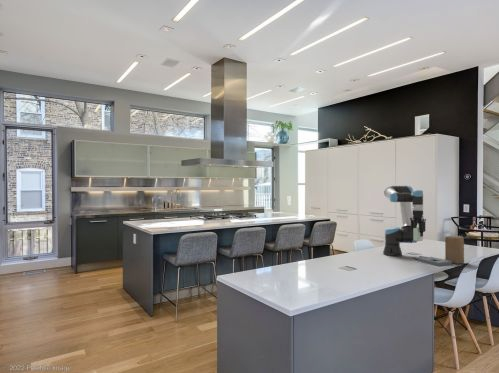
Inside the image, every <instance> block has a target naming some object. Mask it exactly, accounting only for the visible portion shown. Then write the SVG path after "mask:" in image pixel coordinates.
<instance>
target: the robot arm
mask: <svg viewBox="0 0 499 373" xmlns="http://www.w3.org/2000/svg"><path fill="white" fill-rule="evenodd" d="M383 194H384V196H385V197H386V198H387V199H389V201H390V203H399V204H400V213H401V222H402V223H401V224H402V226H401V228H400V227H397V226H394V227H393V226H392V227H386V228H385V231H384V238H385V239H384V243H385V244H384V248H383V251H382V254H383V255H385V256H391V257H399V256H400V257H401V256H403V252H402V248H401V244H402V243H405V244H407V243H408V244H416V243H417V242H423V238H424V232H426V221H427V219H426V218H424V217H423V216H424V191H423V190H422V189H420V190H419V189H418V190H417V189H416V190H413V188H412V186H410V185H391V186H388V187H386V188H385V190H384V191H383ZM411 203H412V204H411ZM416 227H419V230H420V232H419V241H414V240H413V228H416ZM421 230H422V231H421Z"/></svg>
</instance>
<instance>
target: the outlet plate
mask: <svg viewBox="0 0 499 373" xmlns="http://www.w3.org/2000/svg"><path fill="white" fill-rule="evenodd" d="M424 257H425V258H418V257H417V258H418V260H417V262H421V263H424V264H429V265H433V266H437V267H442V266H450V265H453V263H452V261H448V260H445V259H444V258H438V257H434V256H433V257H432V256H424Z"/></svg>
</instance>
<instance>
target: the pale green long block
mask: <svg viewBox="0 0 499 373" xmlns="http://www.w3.org/2000/svg"><path fill="white" fill-rule="evenodd" d="M421 231H422V230H421ZM419 232H420V230H419V226H417V227H416V228H413V240H414V241H417V242H420V241H419Z"/></svg>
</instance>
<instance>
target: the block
mask: <svg viewBox="0 0 499 373" xmlns="http://www.w3.org/2000/svg"><path fill="white" fill-rule="evenodd" d="M464 239H465V238H464V237H463V236H460V235H459V236H458V235H448V236H445V238H444V240H445V241H444V245H445V248H444V249H445V251H444V252H445V253H444V254H445V259H444V260H448V261H452V264H455V265H460V264H463V263H465V252H464V251H465V240H464Z"/></svg>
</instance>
